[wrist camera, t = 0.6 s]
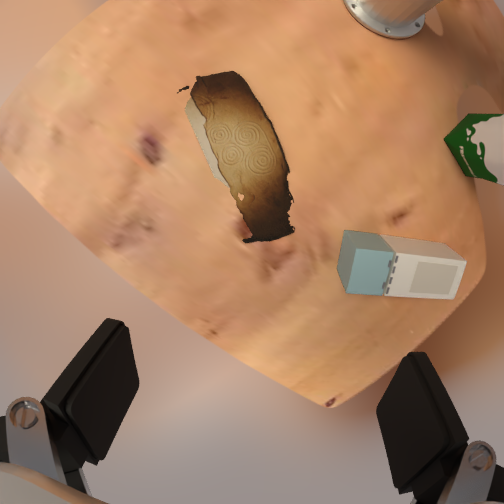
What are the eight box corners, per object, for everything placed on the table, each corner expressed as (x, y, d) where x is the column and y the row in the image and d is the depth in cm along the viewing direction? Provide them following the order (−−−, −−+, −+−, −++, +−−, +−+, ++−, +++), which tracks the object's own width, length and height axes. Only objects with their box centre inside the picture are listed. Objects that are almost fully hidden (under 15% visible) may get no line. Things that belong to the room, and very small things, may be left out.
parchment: (175, 88, 33) (173, 87, 33) (242, 57, 31) (241, 56, 30) (245, 247, 42) (244, 250, 41) (310, 225, 39) (311, 227, 39)
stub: (344, 229, 39) (356, 248, 32) (376, 233, 38) (394, 252, 32) (336, 269, 41) (346, 293, 34) (368, 271, 41) (382, 295, 34)
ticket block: (379, 234, 38) (396, 253, 32) (444, 243, 38) (467, 261, 31) (370, 272, 41) (384, 296, 34) (434, 277, 40) (454, 299, 33)
